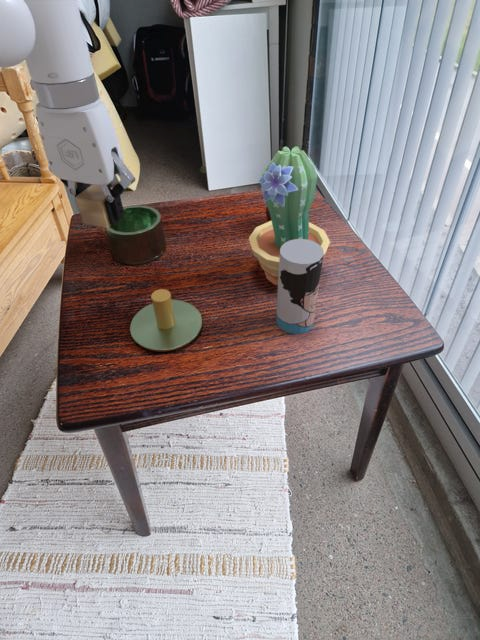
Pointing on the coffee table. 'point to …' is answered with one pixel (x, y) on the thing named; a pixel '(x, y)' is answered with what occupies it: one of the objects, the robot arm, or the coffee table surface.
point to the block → (93, 207)
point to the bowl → (137, 236)
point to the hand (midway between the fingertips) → (103, 216)
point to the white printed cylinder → (298, 285)
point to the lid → (165, 323)
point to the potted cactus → (286, 208)
